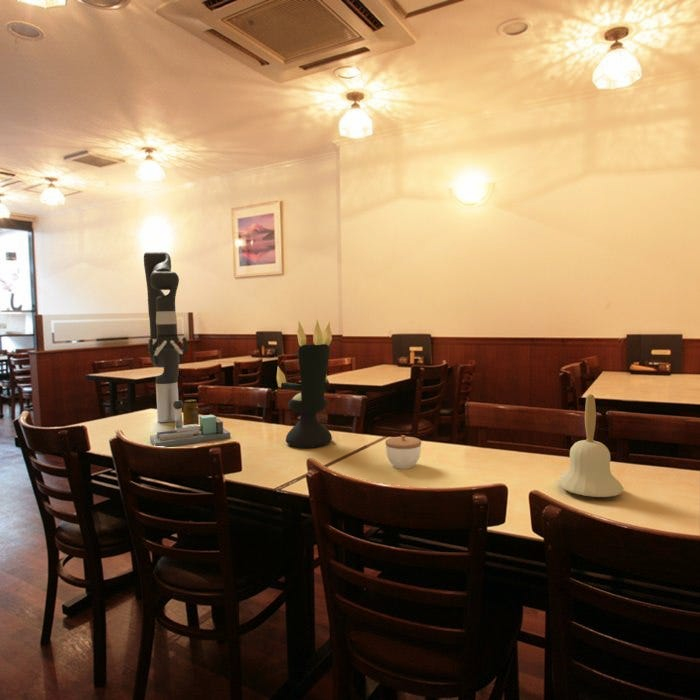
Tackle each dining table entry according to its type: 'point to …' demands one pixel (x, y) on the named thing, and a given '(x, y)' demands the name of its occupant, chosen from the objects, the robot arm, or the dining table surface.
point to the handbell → (590, 463)
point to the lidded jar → (403, 451)
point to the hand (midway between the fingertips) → (168, 364)
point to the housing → (208, 424)
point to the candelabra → (309, 389)
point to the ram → (178, 419)
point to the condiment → (190, 412)
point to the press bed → (188, 436)
